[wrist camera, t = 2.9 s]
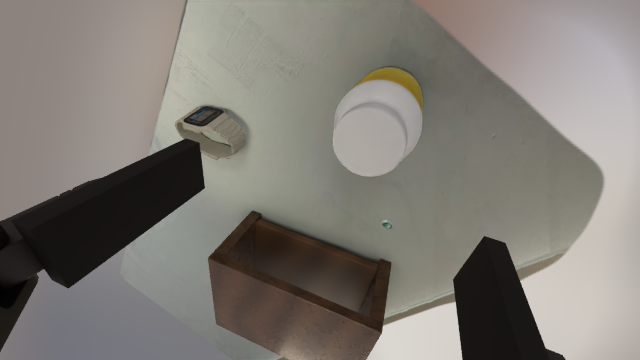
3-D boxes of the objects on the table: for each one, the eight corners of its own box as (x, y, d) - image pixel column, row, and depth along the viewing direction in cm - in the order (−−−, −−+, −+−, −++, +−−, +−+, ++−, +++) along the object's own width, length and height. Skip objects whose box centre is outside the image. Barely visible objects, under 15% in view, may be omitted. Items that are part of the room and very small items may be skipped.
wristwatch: (248, 112, 32) (223, 125, 28) (252, 158, 35) (229, 175, 31) (188, 100, 34) (155, 110, 30) (196, 144, 37) (168, 159, 33)
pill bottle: (369, 55, 24) (334, 74, 15) (436, 78, 23) (444, 113, 14) (347, 119, 28) (308, 166, 18) (405, 141, 27) (394, 202, 18)
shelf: (391, 262, 36) (381, 333, 28) (362, 321, 45) (348, 389, 36) (252, 210, 40) (207, 258, 32) (251, 273, 49) (215, 324, 41)
